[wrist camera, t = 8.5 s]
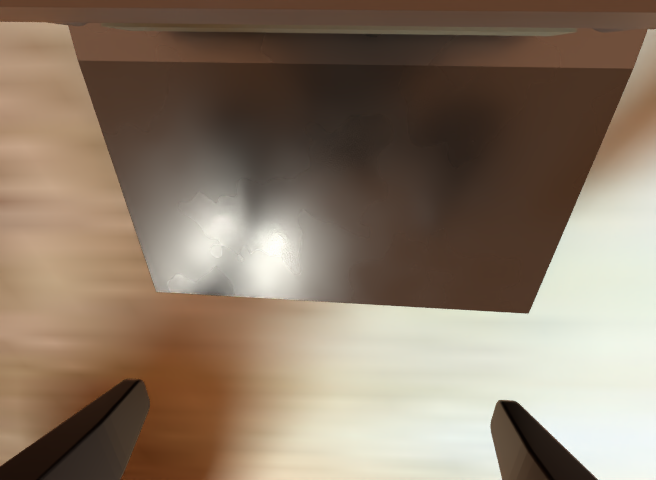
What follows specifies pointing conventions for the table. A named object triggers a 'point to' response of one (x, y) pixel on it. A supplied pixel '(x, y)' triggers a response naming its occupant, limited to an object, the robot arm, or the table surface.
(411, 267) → the dock
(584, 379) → the table surface
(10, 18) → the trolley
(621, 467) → the table surface
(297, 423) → the table surface
